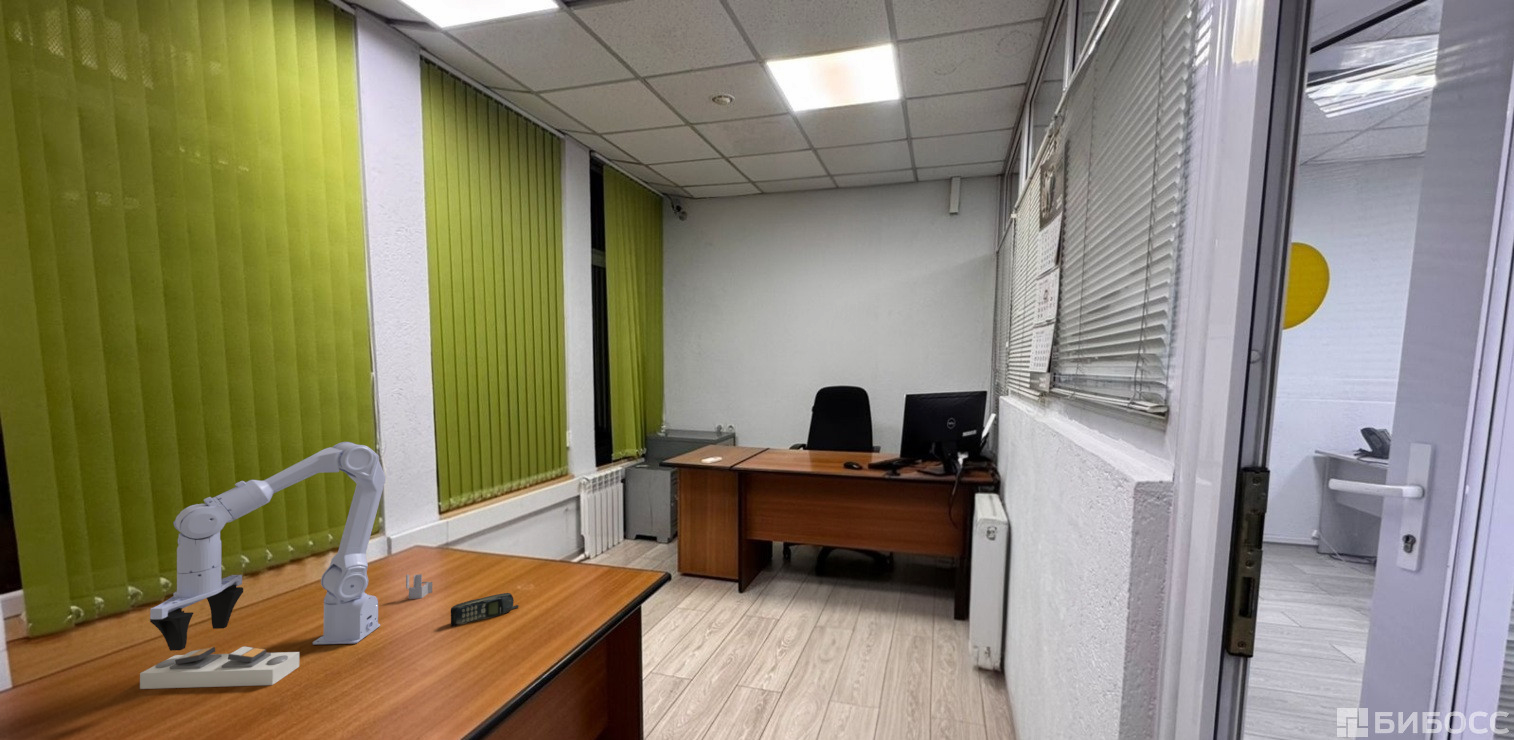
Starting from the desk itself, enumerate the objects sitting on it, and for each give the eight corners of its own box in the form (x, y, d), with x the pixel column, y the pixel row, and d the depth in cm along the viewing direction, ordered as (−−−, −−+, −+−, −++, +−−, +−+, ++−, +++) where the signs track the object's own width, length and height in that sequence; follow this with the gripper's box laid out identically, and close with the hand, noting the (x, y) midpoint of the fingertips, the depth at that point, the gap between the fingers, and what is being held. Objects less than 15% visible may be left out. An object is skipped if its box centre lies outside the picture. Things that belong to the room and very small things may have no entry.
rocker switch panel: (299, 666, 102) (299, 649, 102) (272, 684, 96) (272, 666, 96) (174, 669, 101) (175, 652, 101) (140, 688, 95) (140, 670, 95)
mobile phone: (450, 609, 118) (519, 591, 126) (449, 604, 120) (517, 587, 129) (451, 629, 118) (520, 610, 126) (450, 624, 120) (517, 606, 129)
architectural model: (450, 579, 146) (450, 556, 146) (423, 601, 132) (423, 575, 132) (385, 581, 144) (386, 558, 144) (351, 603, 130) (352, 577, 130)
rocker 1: (215, 651, 100) (214, 646, 100) (199, 660, 97) (198, 655, 97) (192, 655, 99) (191, 650, 99) (175, 664, 96) (175, 659, 96)
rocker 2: (265, 653, 100) (266, 648, 100) (251, 662, 97) (252, 657, 97) (242, 650, 100) (243, 645, 100) (227, 659, 97) (228, 654, 97)
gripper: (217, 554, 103) (217, 619, 103) (132, 584, 88) (131, 660, 88) (252, 553, 103) (252, 618, 103) (173, 583, 88) (173, 659, 88)
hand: (199, 638), depth 95 cm, fingers open, 7 cm apart
